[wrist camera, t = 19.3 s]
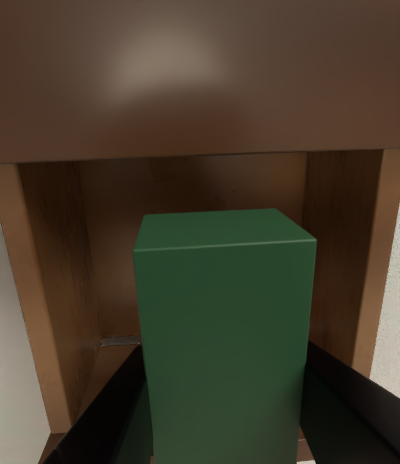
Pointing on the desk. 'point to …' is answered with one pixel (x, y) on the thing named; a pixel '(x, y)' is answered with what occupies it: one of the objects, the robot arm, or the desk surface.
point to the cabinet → (196, 78)
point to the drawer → (184, 201)
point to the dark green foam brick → (224, 333)
